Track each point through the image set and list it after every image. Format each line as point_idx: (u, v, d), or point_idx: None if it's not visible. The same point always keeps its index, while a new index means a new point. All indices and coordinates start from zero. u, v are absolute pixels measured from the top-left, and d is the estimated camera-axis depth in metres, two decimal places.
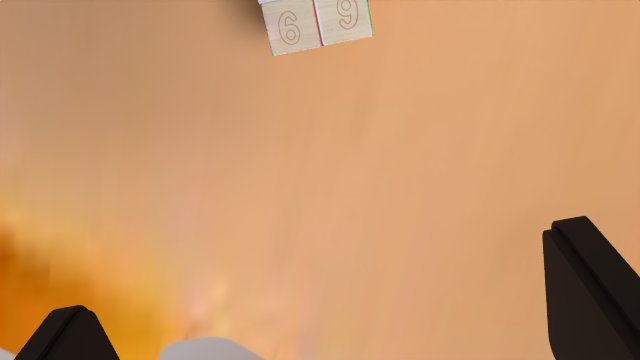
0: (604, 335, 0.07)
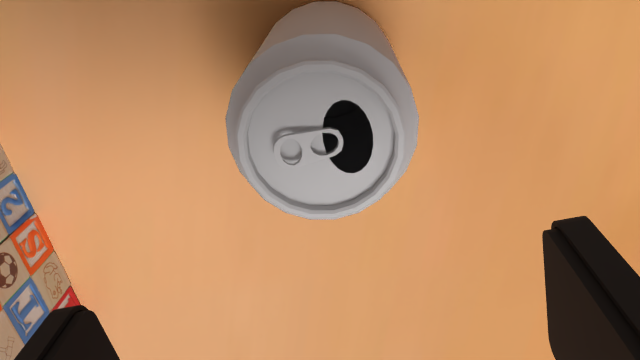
0: (605, 335, 0.07)
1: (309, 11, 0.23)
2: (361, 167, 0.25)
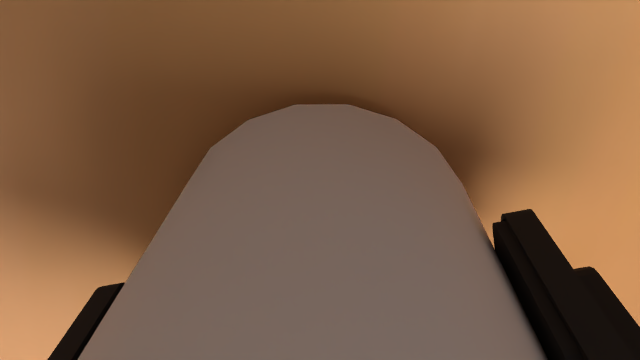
0: (536, 317, 0.08)
1: (274, 168, 0.08)
2: None
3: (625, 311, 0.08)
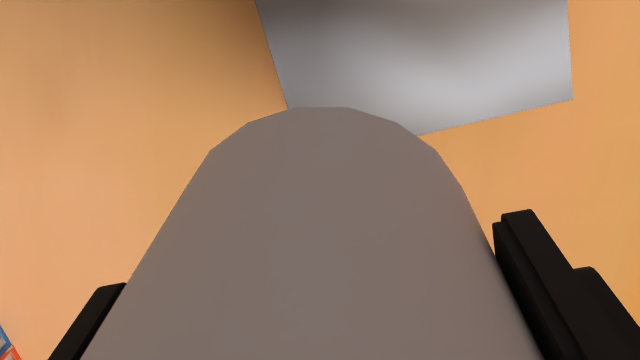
0: (535, 317, 0.08)
1: (274, 171, 0.08)
2: None
3: (625, 311, 0.08)
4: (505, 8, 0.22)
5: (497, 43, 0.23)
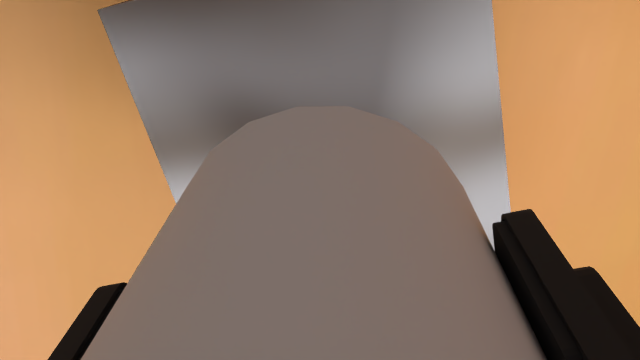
0: (535, 318, 0.08)
1: (275, 170, 0.08)
2: None
3: (625, 311, 0.08)
4: None
5: None
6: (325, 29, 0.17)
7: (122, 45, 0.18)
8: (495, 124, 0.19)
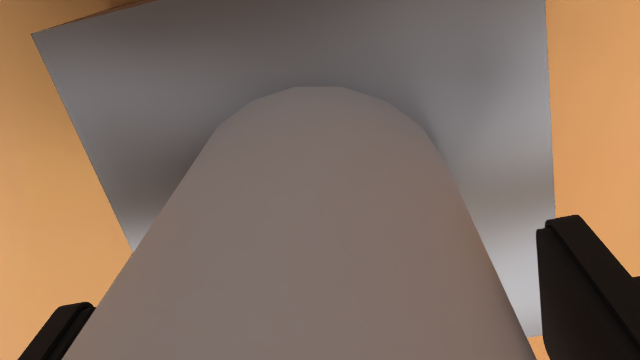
0: (595, 332, 0.07)
1: (275, 135, 0.10)
2: None
3: None
4: None
5: None
6: (327, 59, 0.13)
7: (65, 78, 0.14)
8: (544, 178, 0.15)
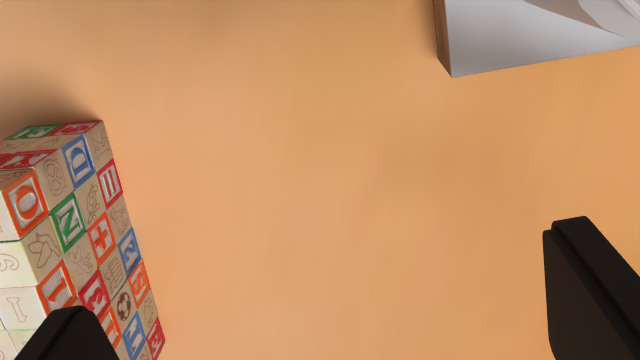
0: (604, 335, 0.07)
1: None
2: None
3: None
4: None
5: None
6: None
7: None
8: None
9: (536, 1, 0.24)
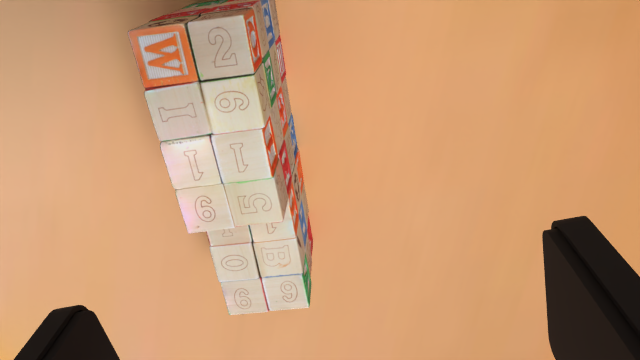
0: (605, 335, 0.07)
1: None
2: None
3: None
4: None
5: None
6: None
7: None
8: None
9: None
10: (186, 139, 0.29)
